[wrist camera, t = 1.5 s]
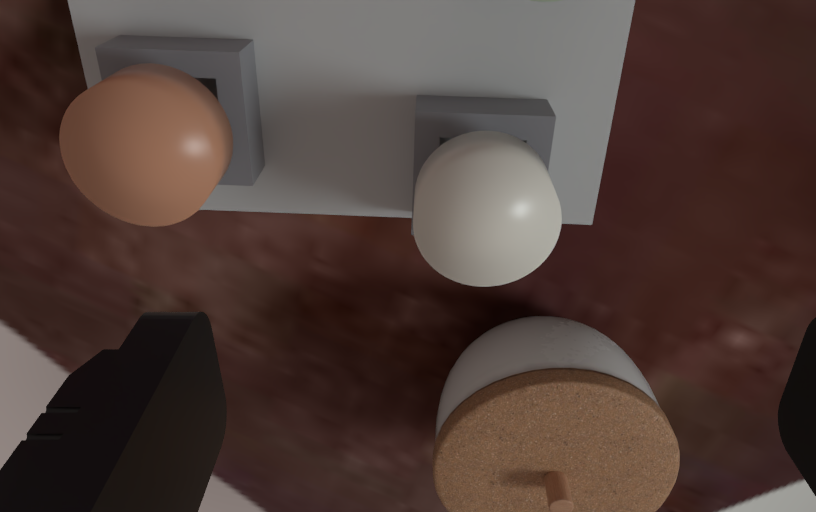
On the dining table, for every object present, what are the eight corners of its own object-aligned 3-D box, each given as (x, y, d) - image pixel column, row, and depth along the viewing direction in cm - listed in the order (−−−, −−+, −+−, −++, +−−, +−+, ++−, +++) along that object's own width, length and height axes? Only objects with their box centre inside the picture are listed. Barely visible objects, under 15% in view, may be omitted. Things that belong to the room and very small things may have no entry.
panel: (16, -293, 22) (-45, -318, 19) (678, -276, 21) (715, -299, 18) (123, 196, 31) (92, 228, 28) (587, 214, 30) (602, 248, 28)
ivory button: (418, 109, 25) (415, 152, 21) (550, 114, 25) (572, 157, 21) (414, 226, 28) (410, 283, 24) (534, 231, 28) (550, 289, 24)
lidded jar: (440, 272, 32) (442, 404, 24) (654, 284, 32) (728, 421, 24) (426, 427, 38) (424, 578, 30) (610, 438, 38) (658, 592, 29)
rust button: (104, 46, 25) (41, 78, 21) (240, 51, 24) (203, 84, 20) (130, 173, 27) (79, 223, 23) (253, 177, 27) (222, 229, 23)
